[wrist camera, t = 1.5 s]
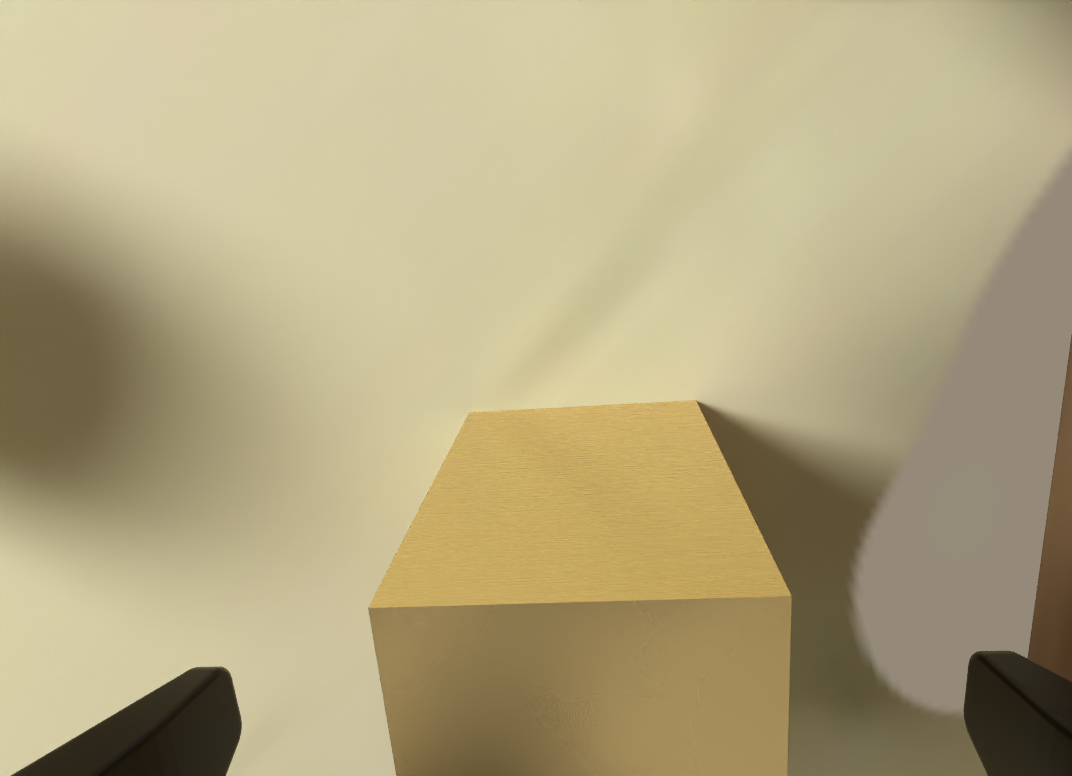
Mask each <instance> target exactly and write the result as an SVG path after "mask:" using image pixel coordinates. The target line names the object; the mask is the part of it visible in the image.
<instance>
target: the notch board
mask: <svg viewBox="0 0 1072 776" xmlns="http://www.w3.org/2000/svg"><path fill="white" fill-rule="evenodd" d="M1028 659H1029V660H1030V661H1032V662H1034V663H1036V664H1038V665H1040V666H1042V667H1044V668H1046V669H1048V670H1050V671H1052V672H1054V673H1055V674H1057V675H1059V676H1061V677H1063V678H1065V679H1067V680H1069V681H1071V682H1072V337H1071V345H1070V352H1069V360H1068V366H1067V374H1066V381H1065V388H1064V396H1063V403H1062V411H1061V418H1060V425H1059V432H1058V440H1057V447H1056V455H1055V462H1054V469H1053V476H1052V484H1051V491H1050V499H1049V506H1048V513H1047V521H1046V528H1045V535H1044V542H1043V550H1042V557H1041V564H1040V572H1039V579H1038V587H1037V594H1036V601H1035V608H1034V616H1033V623H1032V630H1031V638H1030V645H1029V653H1028Z"/></svg>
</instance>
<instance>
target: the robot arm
mask: <svg viewBox="0 0 1072 776" xmlns="http://www.w3.org/2000/svg"><path fill="white" fill-rule="evenodd" d="M964 719H965V724H966V728H967V731H968V733H969V736H970V738H971V740H972V742H973V744H974V747H975V749H976V751H977V753H978V755H979V757H980V760H981V762H982V764H983V766H984V768H985V770H986V773H987V775H988V776H1072V682H1071V681H1069V680H1067V679H1065V678H1063V677H1061V676H1059V675H1057V674H1055V673H1054V672H1052V671H1050V670H1048V669H1046V668H1044V667H1042V666H1040V665H1038V664H1036V663H1034V662H1032V661H1030V660H1029V659H1027V658H1025V657H1023V656H1021V655H1019V654H1017V653H1015V652H1011V651H979V652H976V653H974V654H973V655H972V656H971V658H970V661H969V665H968V674H967V684H966V693H965V703H964ZM241 728H242V722H241V715H240V711H239V707H238V703H237V698H236V694H235V690H234V686H233V681H232V677H231V674H230V673H229V671H228V670H227V669H226V668H224V667H196V668H192V669H190V670H188V671H186V672H185V673H183V674H181V675H180V676H178V677H176V678H175V679H173V680H171V681H170V682H168V683H166V684H165V685H163V686H161V687H160V688H158V689H156V690H154V691H153V692H151V693H149V694H148V695H146V696H144V697H143V698H141V699H139V700H138V701H136V702H134V703H133V704H131V705H129V706H127V707H126V708H124V709H122V710H121V711H119V712H117V713H116V714H114V715H112V716H111V717H109V718H107V719H106V720H104V721H102V722H100V723H99V724H97V725H95V726H94V727H92V728H90V729H89V730H87V731H85V732H84V733H82V734H80V735H79V736H77V737H75V738H73V739H72V740H70V741H68V742H67V743H65V744H63V745H62V746H60V747H58V748H57V749H55V750H53V751H52V752H50V753H48V754H46V755H45V756H43V757H41V758H40V759H38V760H36V761H35V762H33V763H31V764H30V765H28V766H26V767H25V768H23V769H21V770H19V771H18V772H16V773H14V774H13V775H11V776H226V774H227V771H228V769H229V766H230V763H231V761H232V758H233V756H234V753H235V750H236V748H237V745H238V742H239V739H240V735H241Z"/></svg>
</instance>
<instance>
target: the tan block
mask: <svg viewBox="0 0 1072 776" xmlns="http://www.w3.org/2000/svg"><path fill="white" fill-rule="evenodd" d="M791 606H792V596H791V594H790V592H789V589H788V587H787V585H786V583H785V581H784V579H783V577H782V575H781V573H780V571H779V569H778V567H777V565H776V563H775V561H774V559H773V557H772V555H771V553H770V551H769V549H768V547H767V545H766V542H765V540H764V538H763V536H762V534H761V532H760V530H759V528H758V526H757V524H756V522H755V520H754V518H753V516H752V514H751V512H750V510H749V508H748V506H747V504H746V502H745V500H744V497H743V495H742V493H741V491H740V489H739V487H738V485H737V483H736V481H735V479H734V477H733V475H732V473H731V471H730V469H729V467H728V465H727V463H726V461H725V459H724V457H723V455H722V453H721V450H720V448H719V446H718V444H717V442H716V440H715V438H714V436H713V434H712V432H711V430H710V428H709V426H708V424H707V422H706V420H705V418H704V416H703V414H702V412H701V410H700V408H699V405H698V403H697V401H696V400H695V401H676V402H657V403H639V404H620V405H601V406H583V407H564V408H545V409H526V410H508V411H489V412H470V413H469V414H468V416H467V418H466V420H465V422H464V424H463V426H462V428H461V429H460V431H459V433H458V435H457V437H456V439H455V441H454V443H453V445H452V447H451V449H450V451H449V453H448V455H447V457H446V459H445V460H444V462H443V464H442V466H441V468H440V470H439V472H438V474H437V476H436V478H435V480H434V482H433V484H432V486H431V488H430V489H429V491H428V493H427V495H426V497H425V499H424V501H423V503H422V505H421V507H420V509H419V511H418V513H417V515H416V517H415V519H414V520H413V522H412V524H411V526H410V528H409V530H408V532H407V534H406V536H405V538H404V540H403V542H402V544H401V546H400V548H399V549H398V551H397V553H396V555H395V557H394V559H393V561H392V563H391V565H390V567H389V569H388V571H387V573H386V575H385V577H384V579H383V580H382V582H381V584H380V586H379V588H378V590H377V592H376V594H375V596H374V598H373V600H372V602H371V604H370V606H369V608H368V609H369V615H370V621H371V627H372V633H373V639H374V645H375V651H376V657H377V663H378V669H379V674H380V680H381V686H382V692H383V698H384V704H385V710H386V716H387V722H388V728H389V734H390V740H391V746H392V752H393V758H394V764H395V769H396V775H397V776H787V764H788V725H789V685H790V645H791Z"/></svg>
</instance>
